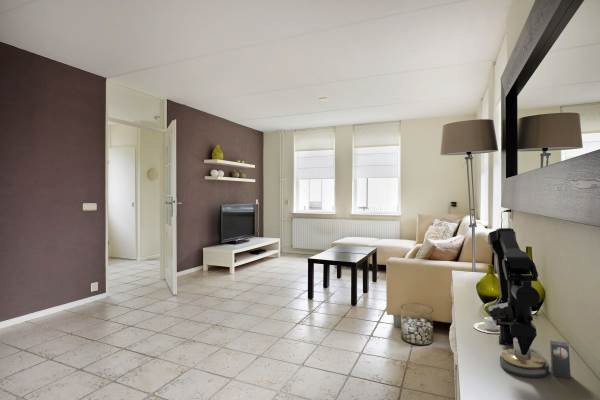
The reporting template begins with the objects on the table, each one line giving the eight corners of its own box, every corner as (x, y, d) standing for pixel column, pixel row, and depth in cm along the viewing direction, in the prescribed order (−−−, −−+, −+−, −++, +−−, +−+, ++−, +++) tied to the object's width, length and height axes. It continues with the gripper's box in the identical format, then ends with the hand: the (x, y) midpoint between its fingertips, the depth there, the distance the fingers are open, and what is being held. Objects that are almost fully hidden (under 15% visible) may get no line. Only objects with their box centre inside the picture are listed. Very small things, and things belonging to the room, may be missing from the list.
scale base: (499, 356, 113) (498, 328, 113) (565, 365, 104) (563, 336, 105) (500, 373, 102) (498, 342, 102) (573, 385, 94) (571, 352, 94)
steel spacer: (513, 352, 108) (512, 336, 108) (530, 354, 105) (529, 338, 105) (514, 358, 104) (513, 341, 104) (532, 361, 102) (531, 343, 102)
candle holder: (478, 334, 132) (477, 323, 132) (470, 323, 144) (469, 313, 144) (512, 335, 129) (512, 324, 130) (502, 324, 141) (501, 313, 141)
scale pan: (501, 349, 112) (501, 346, 112) (543, 355, 107) (543, 352, 107) (502, 364, 102) (502, 361, 102) (548, 371, 97) (548, 368, 97)
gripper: (489, 287, 117) (492, 334, 117) (489, 302, 100) (492, 356, 100) (528, 290, 111) (531, 338, 111) (535, 306, 95) (538, 363, 95)
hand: (522, 348), depth 104 cm, fingers open, 9 cm apart
